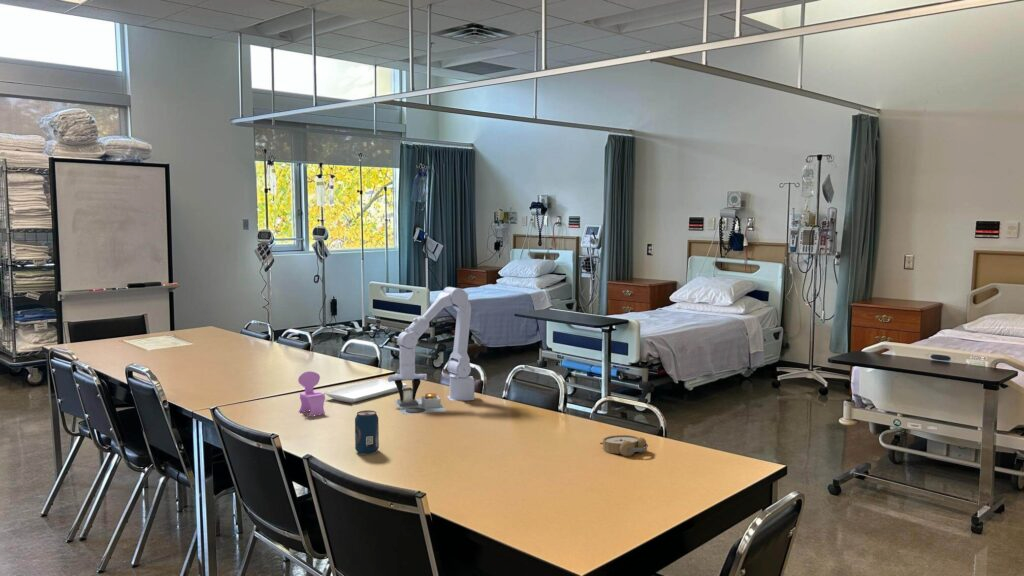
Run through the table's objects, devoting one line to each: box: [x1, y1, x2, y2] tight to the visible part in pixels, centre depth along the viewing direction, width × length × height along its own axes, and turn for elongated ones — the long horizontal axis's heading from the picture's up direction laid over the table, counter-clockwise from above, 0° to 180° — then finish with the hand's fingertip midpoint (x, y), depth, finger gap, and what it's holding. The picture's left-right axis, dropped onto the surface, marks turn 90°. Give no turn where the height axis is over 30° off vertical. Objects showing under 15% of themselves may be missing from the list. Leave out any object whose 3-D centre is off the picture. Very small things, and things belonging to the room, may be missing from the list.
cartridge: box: [402, 386, 413, 403], centre depth 281 cm, size 4×4×6 cm
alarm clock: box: [599, 434, 649, 457], centre depth 225 cm, size 11×5×15 cm
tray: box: [323, 378, 408, 404], centre depth 298 cm, size 17×31×4 cm, turn 147°
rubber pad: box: [406, 408, 425, 414], centre depth 271 cm, size 7×7×1 cm
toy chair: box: [297, 370, 326, 417], centre depth 268 cm, size 8×9×15 cm
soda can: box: [354, 409, 380, 456], centre depth 223 cm, size 7×7×12 cm
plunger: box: [424, 392, 438, 399], centre depth 278 cm, size 4×4×4 cm
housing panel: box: [394, 395, 448, 415], centre depth 278 cm, size 16×22×4 cm
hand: (407, 399), depth 281 cm, fingers closed on cartridge, 4 cm apart
